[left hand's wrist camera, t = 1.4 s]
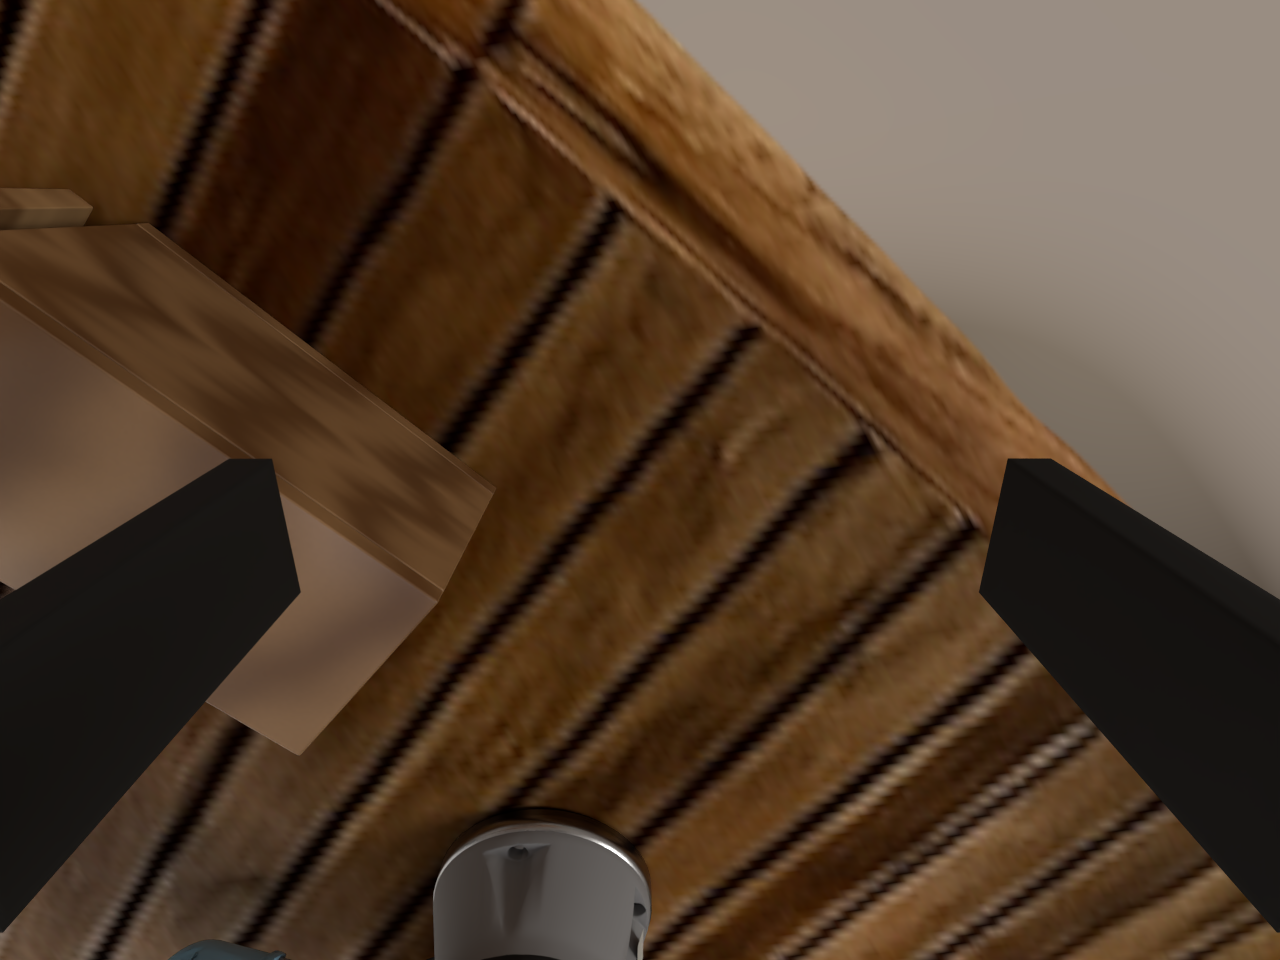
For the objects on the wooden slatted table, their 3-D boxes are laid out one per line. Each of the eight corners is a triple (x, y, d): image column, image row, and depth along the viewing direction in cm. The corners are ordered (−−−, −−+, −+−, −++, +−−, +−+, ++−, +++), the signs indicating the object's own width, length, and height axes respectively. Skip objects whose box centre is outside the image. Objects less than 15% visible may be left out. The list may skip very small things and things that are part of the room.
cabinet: (56, 386, 35) (-198, 466, 25) (148, 222, 32) (-96, 233, 22) (389, 610, 40) (298, 757, 30) (496, 487, 37) (438, 602, 27)
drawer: (-140, 257, 32) (-443, 279, 23) (-68, 85, 29) (-380, 35, 20) (329, 572, 38) (234, 685, 29) (424, 455, 36) (351, 540, 27)
